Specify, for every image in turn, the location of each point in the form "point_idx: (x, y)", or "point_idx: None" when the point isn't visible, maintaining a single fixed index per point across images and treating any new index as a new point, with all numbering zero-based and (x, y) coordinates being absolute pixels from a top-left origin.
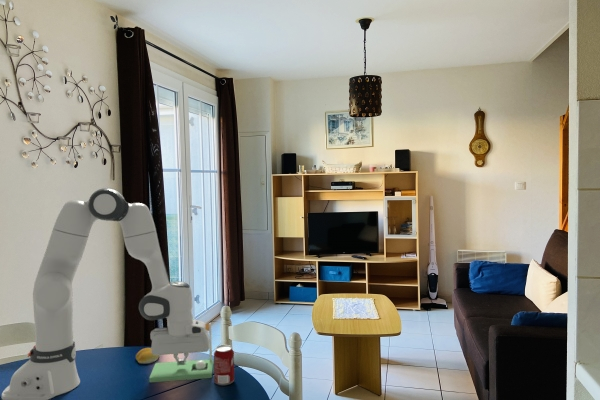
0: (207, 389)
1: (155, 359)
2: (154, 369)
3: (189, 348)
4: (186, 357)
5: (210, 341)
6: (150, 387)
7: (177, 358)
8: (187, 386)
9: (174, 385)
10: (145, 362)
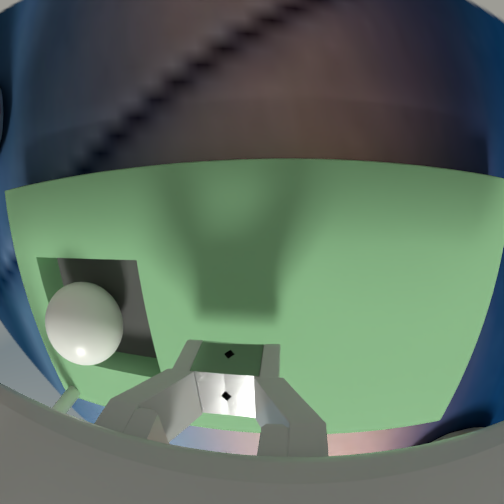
0: (42, 30)
1: None
2: (469, 337)
3: (17, 454)
4: (140, 389)
5: None
6: (467, 83)
7: (268, 405)
8: (155, 42)
9: (273, 61)
10: (467, 431)
